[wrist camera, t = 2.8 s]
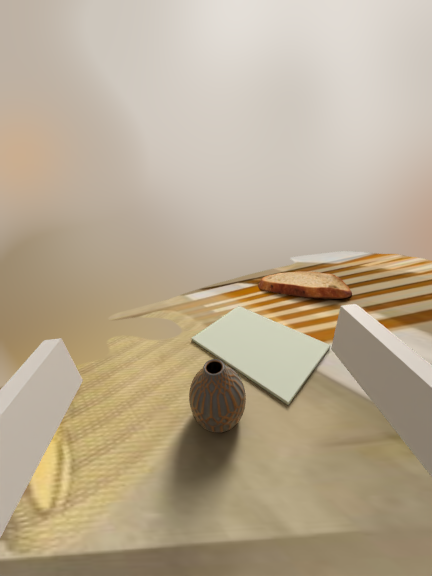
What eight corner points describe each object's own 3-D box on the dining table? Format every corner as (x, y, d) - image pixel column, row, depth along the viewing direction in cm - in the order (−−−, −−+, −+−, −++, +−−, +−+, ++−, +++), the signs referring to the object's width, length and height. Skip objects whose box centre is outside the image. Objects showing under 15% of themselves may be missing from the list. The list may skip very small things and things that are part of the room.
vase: (219, 383, 34) (214, 337, 30) (256, 412, 29) (257, 364, 25) (182, 415, 30) (171, 368, 26) (219, 456, 25) (213, 407, 21)
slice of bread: (252, 285, 61) (253, 272, 60) (304, 270, 67) (305, 258, 65) (299, 318, 47) (301, 303, 45) (360, 295, 52) (363, 281, 51)
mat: (329, 347, 38) (330, 345, 38) (288, 405, 30) (288, 402, 29) (238, 308, 51) (238, 305, 51) (191, 340, 43) (191, 337, 42)
